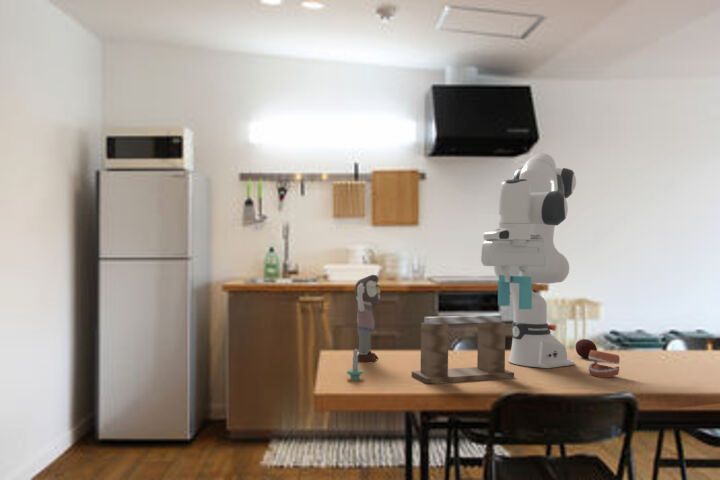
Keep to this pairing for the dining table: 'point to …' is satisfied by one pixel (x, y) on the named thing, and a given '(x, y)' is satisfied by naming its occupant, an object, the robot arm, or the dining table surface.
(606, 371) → the dentures
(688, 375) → the dining table surface
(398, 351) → the dining table surface
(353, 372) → the screw
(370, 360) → the figurine
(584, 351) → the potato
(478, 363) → the shelf
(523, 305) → the teal stepped bracket
